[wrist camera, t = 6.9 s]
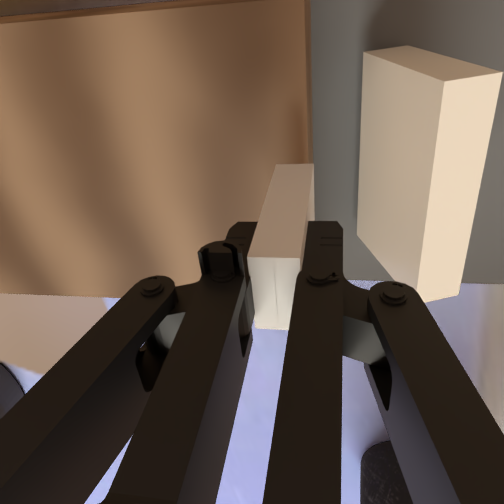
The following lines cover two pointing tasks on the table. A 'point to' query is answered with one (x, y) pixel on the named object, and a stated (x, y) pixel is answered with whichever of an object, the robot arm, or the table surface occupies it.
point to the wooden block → (143, 136)
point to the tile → (422, 163)
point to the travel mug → (382, 477)
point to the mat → (349, 111)
